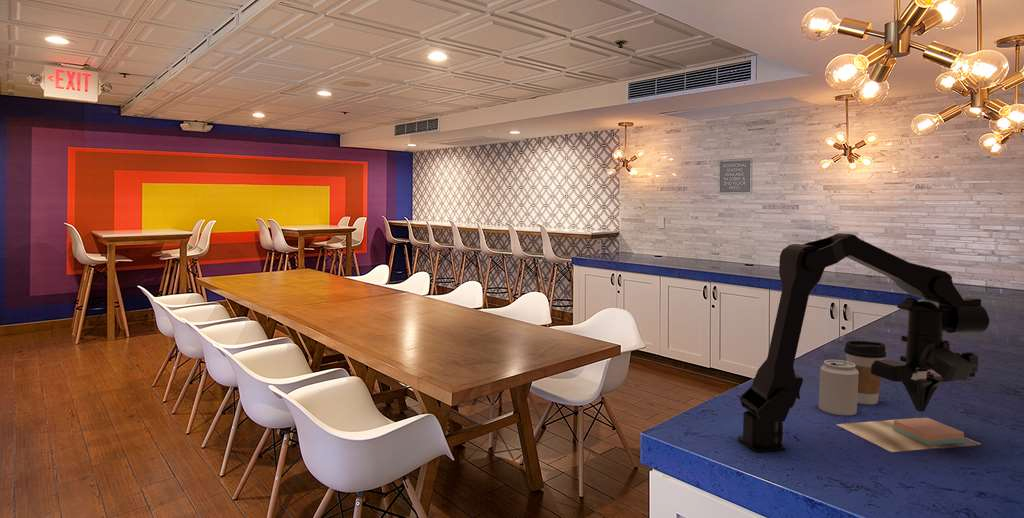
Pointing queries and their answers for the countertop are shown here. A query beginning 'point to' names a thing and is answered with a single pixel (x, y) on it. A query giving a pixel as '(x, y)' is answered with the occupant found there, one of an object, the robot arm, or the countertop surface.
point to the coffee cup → (866, 368)
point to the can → (838, 387)
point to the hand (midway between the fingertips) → (920, 411)
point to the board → (894, 436)
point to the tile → (928, 431)
